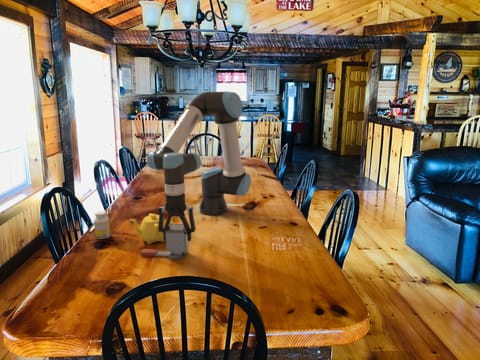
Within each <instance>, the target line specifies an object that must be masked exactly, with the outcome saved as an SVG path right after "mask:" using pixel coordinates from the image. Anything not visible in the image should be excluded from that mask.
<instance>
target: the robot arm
mask: <svg viewBox="0 0 480 360" xmlns="http://www.w3.org/2000/svg"><path fill="white" fill-rule="evenodd" d="M242 114H243V102H242V99H241V97H240V96H239V94H238V93H236V92H233V91H205V92H202V93H200V94H198V95H197V96H195V97H194V98H192V99H191V100H190V101H189V102H188V103H187V104H186V106H185V107H184V109H183V114H182V116H181V117H180V118H179V120H178V122H177V123H176V125H175V126H174V127H173V129H172V130H171V131H170V132H169V134H168V135H167V137H166V138H165V140H164V142H163V143H162V144H161V145H160V148H159V149H158V150H157V151H156V150H155V151H151V152H149V153H148V154H147V157H146V163H147V165H148V167H149V168H150V169H151V170H157V171H163V178H164V193H165V199H164V200H165V205H164V206H159V207H158V209H157V211H158V215H159V228H158V231H159V232H163V236H164V240H166V230H167V228H168V227H169V225H170V224H171V221H172V218H173V217H177V218H179V219H180V221H181V222H182V223H181V224H183V225H184V227H185V230H186V234H185V239H186V249H187V250H188V251H189V248H190V241H191V240H192V233H195V231H196V223H195V217H194V207H193V206H187V204H186V194H185V190H186V189H185V176H186V175H188V174H190V173H193V172H195V171H197V170H198V169H200V167H201V166H202V159H201V157H200V155H199V154H197V153H195V152H188V153H180V151H181V149H182V147H183V146H184V145H185V144H186V142H187V140H188V138H189V137H190V135H191V133H193V131H194V129H195V128H196V126H197V125H198V123H201V122H202V121H203V120H204V118H208V117H211V118H213V119H214V120H213V121H214V123H215V124H216V125H218V130H219V137H220V143H221V144H220V145H221V150H222V156H223V163H224V169H223V168H222V167H211V168H207V169H204V170H203V171H202V172H201V174H200V175H201V176H200V177H201V179H200V181H201V195H202V197H201V200H200V204H199V207H198V208H199V213H200V214H202V215H203V214H204V215H207V216H217V215H221V214H224V213H226V212H228V205H227V201H226V199H225V196H224V195H230V196H236V197H238V196H240V197H243V196H246V195H247V194H248V192H249V191H250V188H251V184H252V183H251V182H252V178H251V177H252V176H251V174H249V173H247V171H246V168H245V167H244V166H243V165H242V164H243V163H242V157H241V148H240V142H239V134H238V128H237V127H238V125H237V122H239V120H240V117H241V116H242ZM185 211H186V212H187V213H188V219H189V220H187V218H186V214H185ZM165 212H166V213H167V214H168V216H167V218H166V220H165V221H166V224H165V227H164V228H163V221H164V219H165V217H164V216H165ZM188 221H189V222H188ZM165 243H166V245H165V246H166V247H167V241H165Z"/></svg>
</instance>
